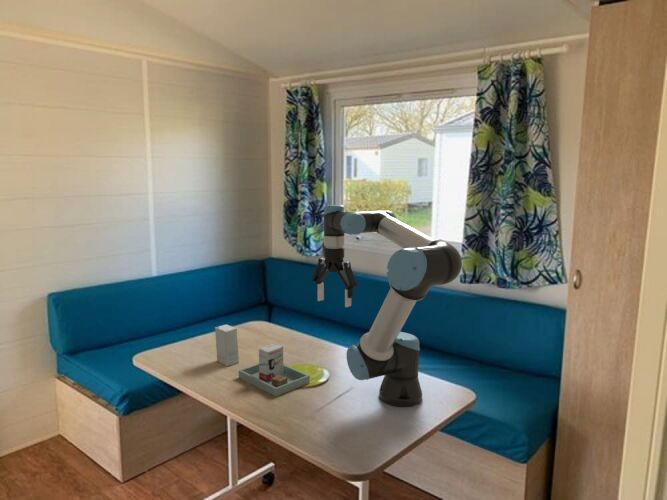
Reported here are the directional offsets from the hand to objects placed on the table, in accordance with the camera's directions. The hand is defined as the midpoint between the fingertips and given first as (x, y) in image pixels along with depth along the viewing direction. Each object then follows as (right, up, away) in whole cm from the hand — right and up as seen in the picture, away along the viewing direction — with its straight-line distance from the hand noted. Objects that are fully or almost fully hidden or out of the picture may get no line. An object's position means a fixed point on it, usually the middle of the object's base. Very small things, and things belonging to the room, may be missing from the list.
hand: (334, 303), depth 187 cm
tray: (-22, -30, 0) cm, 37 cm away
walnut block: (-20, -30, -7) cm, 36 cm away
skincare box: (-44, -26, +20) cm, 55 cm away
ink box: (-24, -28, +3) cm, 37 cm away
